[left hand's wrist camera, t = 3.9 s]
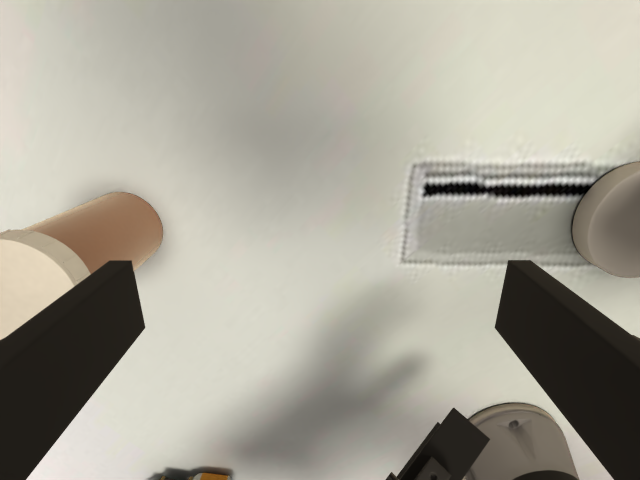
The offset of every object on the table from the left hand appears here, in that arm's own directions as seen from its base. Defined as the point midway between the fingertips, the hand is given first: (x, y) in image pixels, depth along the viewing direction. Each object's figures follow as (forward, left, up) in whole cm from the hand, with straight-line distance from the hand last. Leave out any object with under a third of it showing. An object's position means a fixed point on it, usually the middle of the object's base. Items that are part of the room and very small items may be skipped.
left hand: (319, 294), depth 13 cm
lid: (+7, -22, -12) cm, 26 cm away
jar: (+7, -22, -28) cm, 36 cm away
